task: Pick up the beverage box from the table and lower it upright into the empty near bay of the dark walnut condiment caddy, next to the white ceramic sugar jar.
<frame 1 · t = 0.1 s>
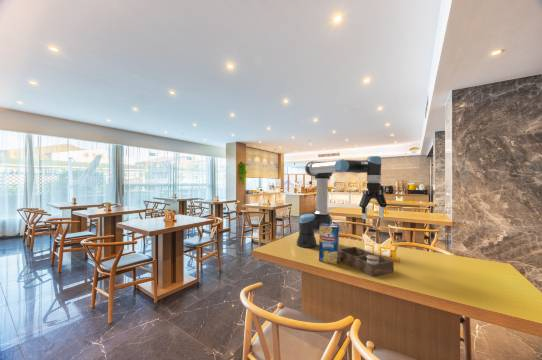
hand: (373, 218, 128), 28 cm above the table, fingers open, 13 cm apart
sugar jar: (372, 269, 123), resting in caddy
caddy: (362, 264, 129), on the table
beverage box: (328, 260, 135), on the table
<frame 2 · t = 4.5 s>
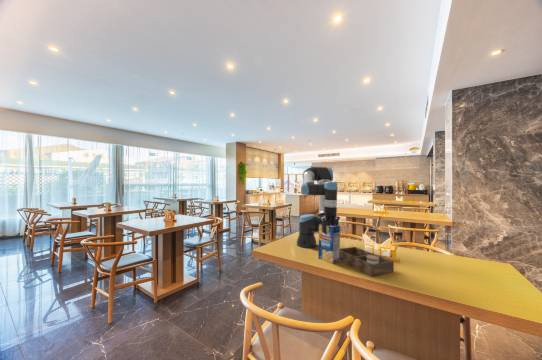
hand: (329, 243, 136), 10 cm above the table, fingers open, 3 cm apart
beverage box: (328, 260, 136), on the table
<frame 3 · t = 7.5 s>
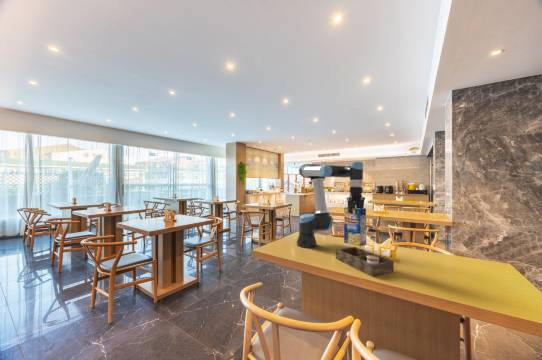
hand: (355, 224, 135), 23 cm above the table
beverage box: (355, 243, 135), point 11 cm above the table, touching gripper
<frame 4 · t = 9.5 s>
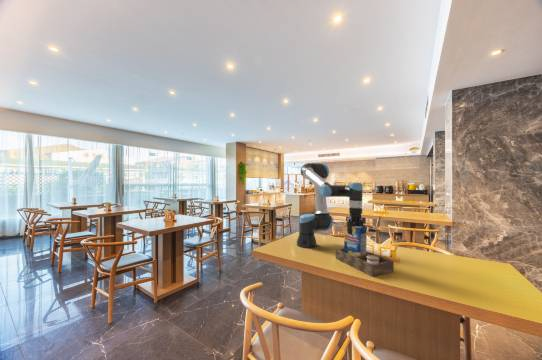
hand: (355, 245, 135), 10 cm above the table, fingers open, 3 cm apart
beverage box: (354, 261, 135), resting in caddy, touching gripper
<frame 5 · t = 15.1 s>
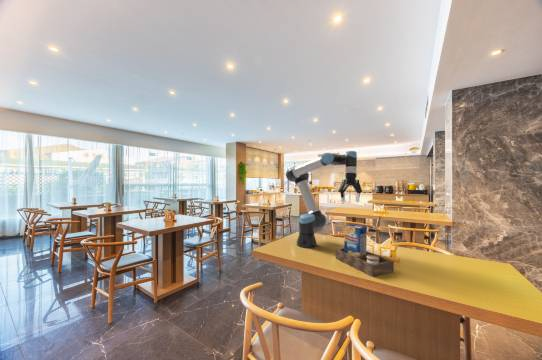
hand: (350, 202, 156), 35 cm above the table, fingers open, 13 cm apart
beverage box: (354, 261, 135), resting in caddy
at the end: beverage box inside the target area on the caddy (0.2 cm from its centre), point 0.0 cm above the caddy's base; beverage box tilted 0°; the gripper is holding nothing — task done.
